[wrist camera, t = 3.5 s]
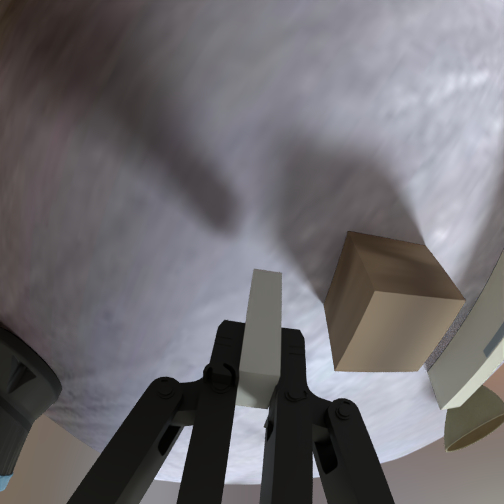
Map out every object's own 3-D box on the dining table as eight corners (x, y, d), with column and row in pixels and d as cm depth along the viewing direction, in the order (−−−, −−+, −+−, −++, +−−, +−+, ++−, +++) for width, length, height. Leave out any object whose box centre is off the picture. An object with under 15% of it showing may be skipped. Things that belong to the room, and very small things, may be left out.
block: (323, 304, 20) (334, 371, 15) (347, 230, 17) (374, 290, 12) (394, 311, 20) (417, 371, 15) (425, 245, 17) (465, 300, 12)
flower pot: (420, 413, 30) (430, 457, 24) (469, 369, 25) (488, 416, 18) (460, 411, 31) (471, 447, 24) (504, 371, 25) (521, 409, 19)
